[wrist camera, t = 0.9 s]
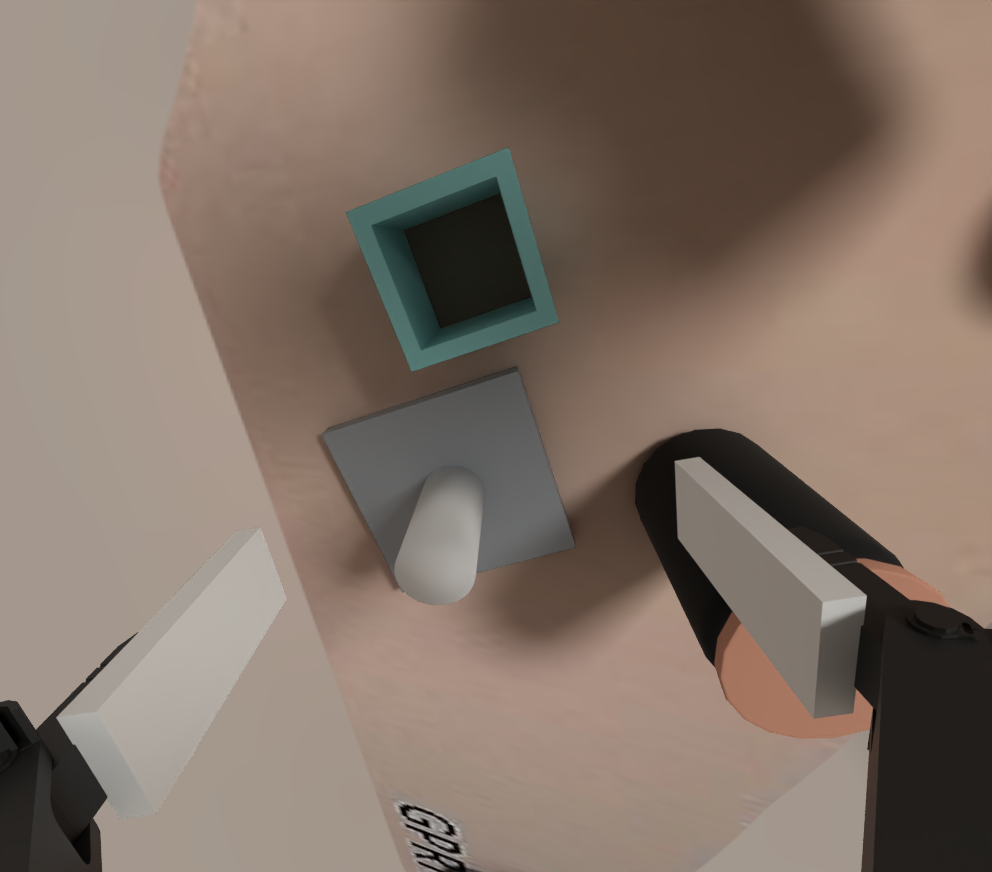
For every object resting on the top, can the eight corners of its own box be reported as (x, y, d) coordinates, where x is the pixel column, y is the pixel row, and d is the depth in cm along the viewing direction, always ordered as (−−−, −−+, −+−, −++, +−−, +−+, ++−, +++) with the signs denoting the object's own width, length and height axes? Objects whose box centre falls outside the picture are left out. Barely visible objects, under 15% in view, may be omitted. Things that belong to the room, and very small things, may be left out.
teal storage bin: (509, 171, 31) (508, 147, 23) (548, 305, 34) (559, 322, 26) (384, 220, 32) (345, 212, 25) (433, 345, 35) (411, 371, 28)
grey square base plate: (517, 366, 35) (519, 417, 25) (573, 537, 41) (595, 639, 30) (328, 427, 38) (256, 498, 27) (405, 581, 43) (370, 690, 33)
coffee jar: (620, 532, 41) (695, 731, 24) (645, 416, 37) (756, 558, 20) (743, 543, 41) (903, 749, 24) (781, 428, 37) (1005, 580, 20)
